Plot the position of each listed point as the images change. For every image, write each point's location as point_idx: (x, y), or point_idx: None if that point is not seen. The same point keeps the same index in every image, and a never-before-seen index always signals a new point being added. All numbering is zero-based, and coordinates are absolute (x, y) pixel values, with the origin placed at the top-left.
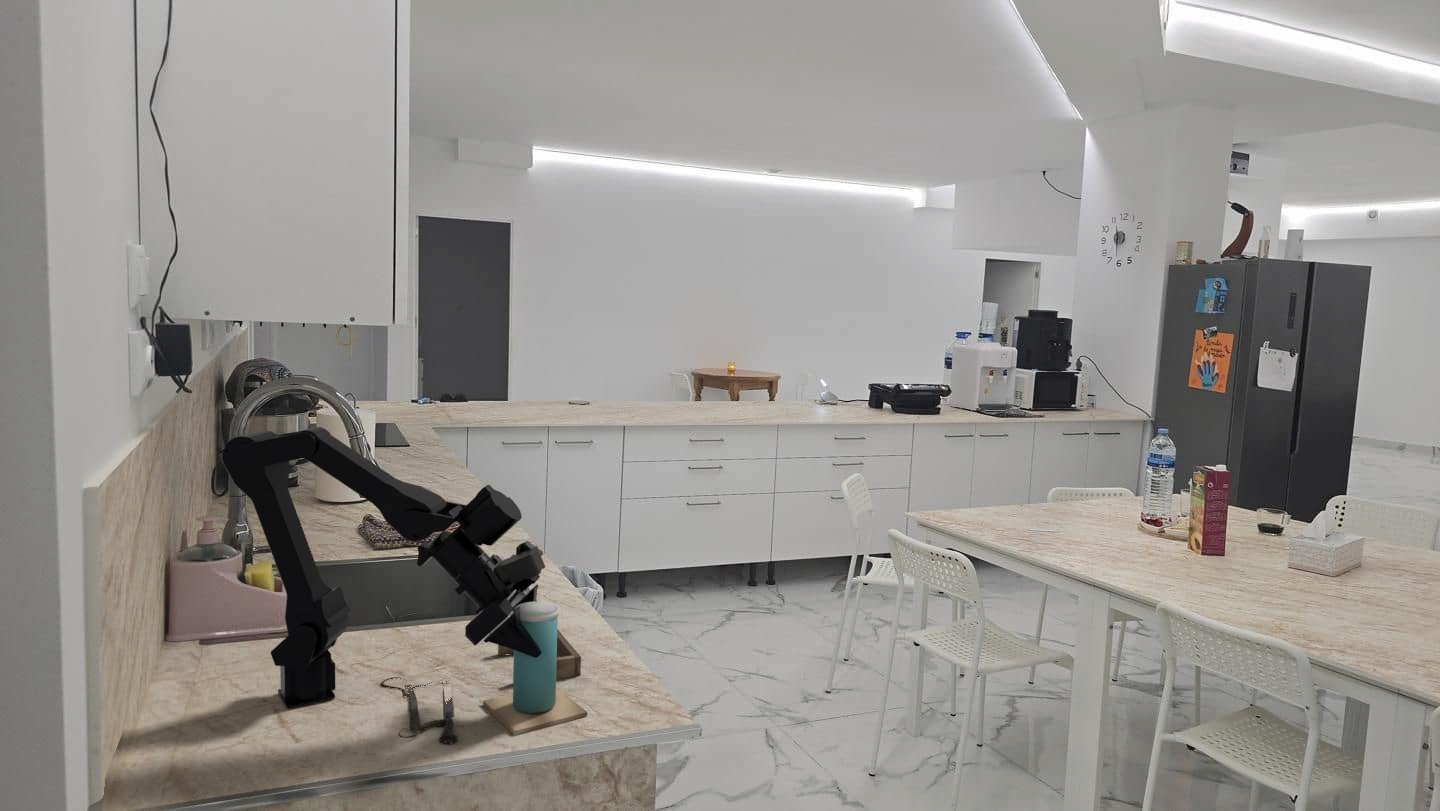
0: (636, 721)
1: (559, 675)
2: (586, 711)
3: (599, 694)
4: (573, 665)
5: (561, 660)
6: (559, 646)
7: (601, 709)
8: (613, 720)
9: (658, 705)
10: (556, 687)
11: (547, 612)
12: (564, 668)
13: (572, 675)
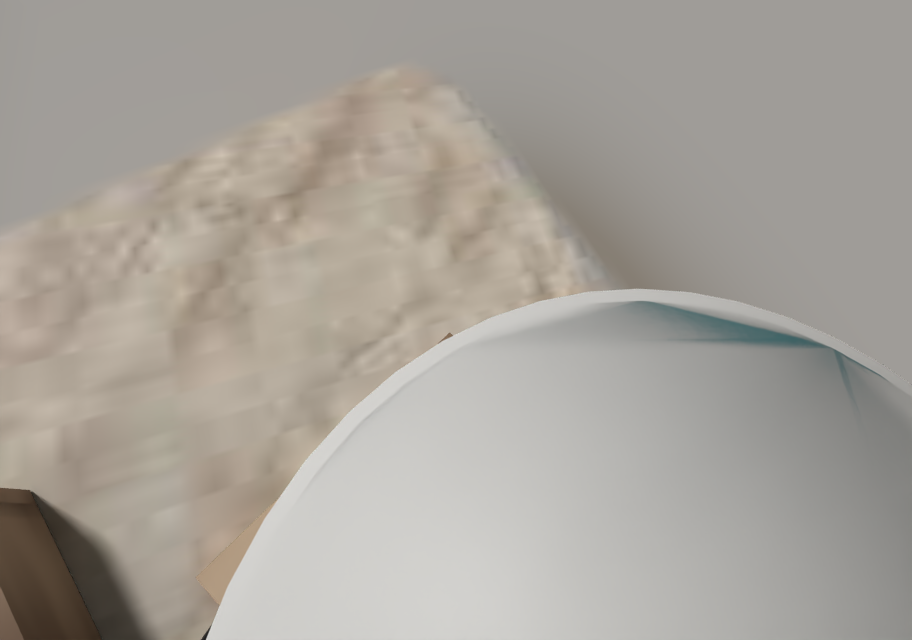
0: (442, 178)
1: (67, 588)
2: (447, 336)
3: (244, 345)
4: (4, 523)
5: (5, 591)
6: None
7: (379, 304)
8: (455, 245)
9: (307, 135)
10: (232, 543)
11: (796, 432)
12: (31, 568)
13: (43, 526)
